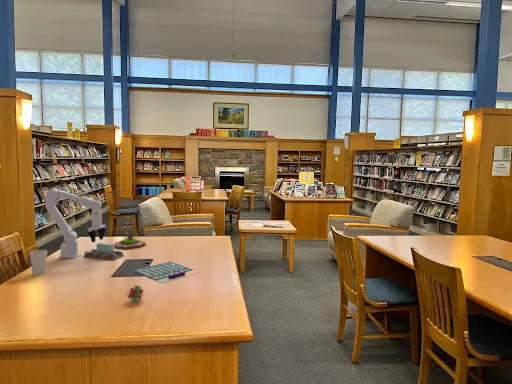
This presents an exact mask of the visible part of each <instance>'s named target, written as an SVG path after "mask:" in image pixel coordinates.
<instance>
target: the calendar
mask: <svg viewBox="0 0 512 384" xmlns="http://www.w3.org/2000/svg"><path fill="white" fill-rule="evenodd" d="M189 267H190V266H187V265H186V266H185V264H184V265H182V263H179V262H174V261H166V262H163V263H158V264H154V265H150V266H145V267H141V268H137V269H134V270H133V272H135V273H137V274H140V275H142V276H144V277H147V278H149V279H152V280H153V281H156V282H158V283H161V284H165V283H168V282H173V281H176V280H179V278H180V279H182V277H183V278H185V277H184V276H185V275H186V273H187V272H188V271H192V270H194V269H191V268H192V267H190V268H189ZM172 280H173V281H172Z"/></svg>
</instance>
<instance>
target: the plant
mask: <svg viewBox="0 0 512 384" xmlns="http://www.w3.org/2000/svg"><path fill="white" fill-rule="evenodd" d="M124 232H125V233H124V235H125V236H126V237H124V238H122V239H121V240H120V241H116V242H114V243H113V247H114V249H117V250H125V251H127V250H133V249H139V248H143V247H146V241H142V240H139V239H137V238H135V237H136V236H138V235H139V234H138V233H137V232H133V233H132V234H131V233H130V231H124ZM134 235H136V236H134ZM127 236H128V237H127Z"/></svg>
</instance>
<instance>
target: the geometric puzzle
mask: <svg viewBox="0 0 512 384" xmlns="http://www.w3.org/2000/svg"><path fill="white" fill-rule="evenodd" d="M144 290H145V289H144V288H143V287H142V286H139V285H137V284H134V287H130V288H128V289H127V291H126V296H127V298H128V299H129V300H130V301H132V300H133V301H132V302H134V301H135V303H137V302H139V301H140V300H141V299H142V297H144Z"/></svg>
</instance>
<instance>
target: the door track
mask: <svg viewBox="0 0 512 384" xmlns="http://www.w3.org/2000/svg"><path fill="white" fill-rule="evenodd" d="M113 253H114V254H113ZM113 253H101V252H97V248H91V249H90V251H89V250H87V251H84V255H83V257H82V258H89V259H99V260H108V261H109V260H111V261H115V260H117V259H120V258H123V257H124V256H125V254H124V252H123V251H122V250H113Z"/></svg>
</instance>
